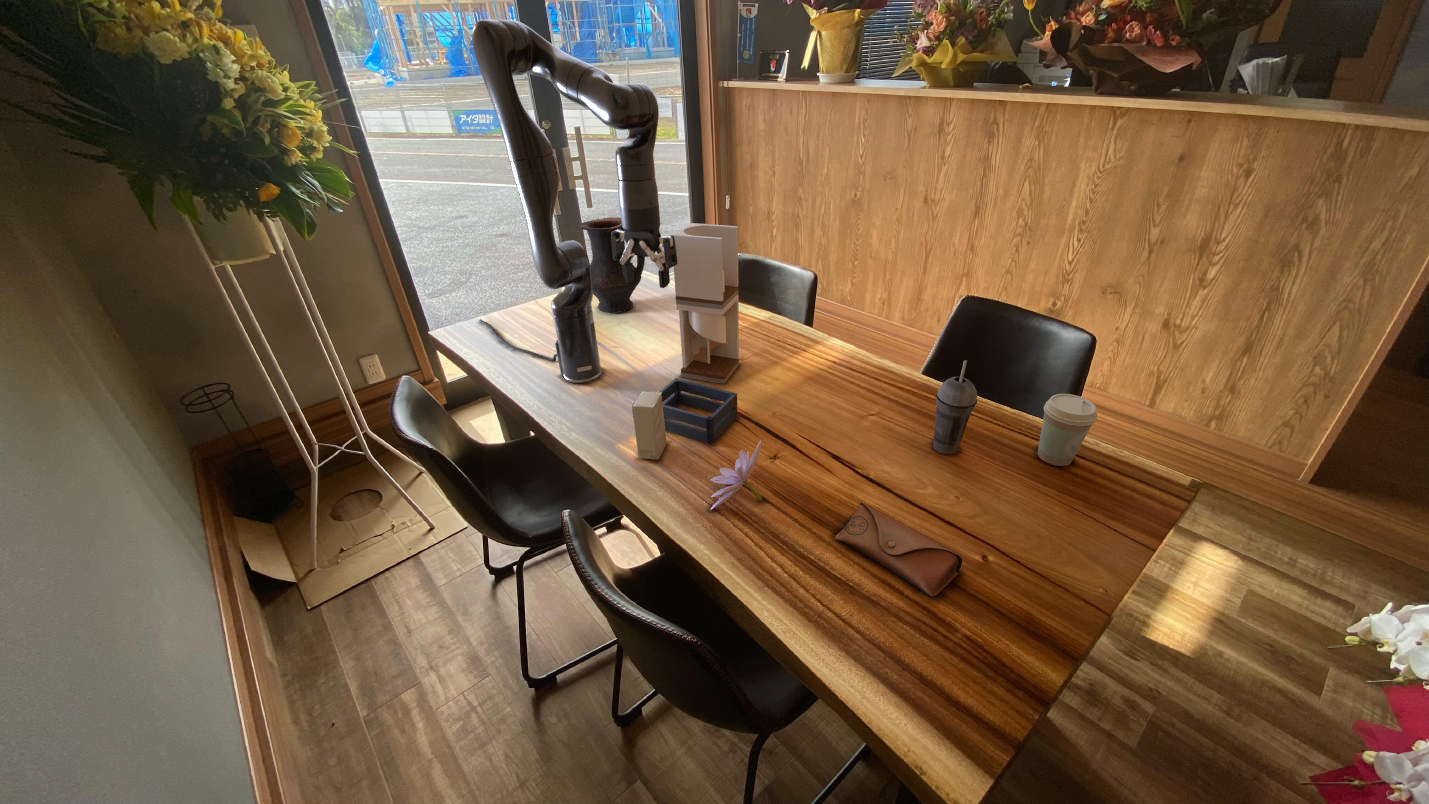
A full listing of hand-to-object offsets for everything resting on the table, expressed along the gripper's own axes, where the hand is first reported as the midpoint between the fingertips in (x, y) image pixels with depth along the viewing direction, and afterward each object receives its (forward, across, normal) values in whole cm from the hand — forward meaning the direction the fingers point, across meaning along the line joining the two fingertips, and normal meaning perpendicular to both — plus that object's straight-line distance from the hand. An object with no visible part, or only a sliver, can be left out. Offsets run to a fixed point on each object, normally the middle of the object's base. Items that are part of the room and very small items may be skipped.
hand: (646, 283), depth 118 cm
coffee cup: (+28, -81, -16) cm, 87 cm away
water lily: (+28, -31, +21) cm, 47 cm away
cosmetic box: (+28, -10, +17) cm, 34 cm away
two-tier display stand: (+28, -4, -18) cm, 34 cm away
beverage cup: (+28, -62, -10) cm, 69 cm away
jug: (+28, +43, -42) cm, 66 cm away
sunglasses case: (+28, -60, +23) cm, 70 cm away
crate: (+28, -12, +4) cm, 31 cm away
